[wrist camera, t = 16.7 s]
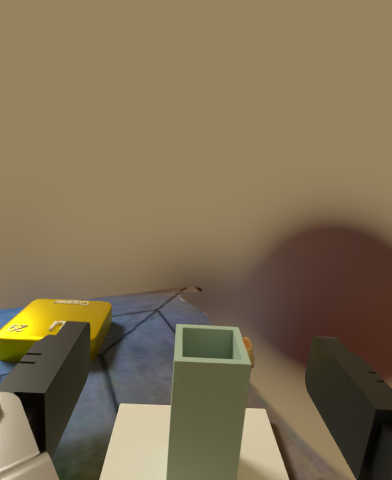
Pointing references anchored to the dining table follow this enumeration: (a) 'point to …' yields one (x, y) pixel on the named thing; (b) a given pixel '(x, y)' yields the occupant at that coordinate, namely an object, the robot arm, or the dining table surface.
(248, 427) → the base plate
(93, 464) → the dining table surface
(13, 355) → the element tile
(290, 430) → the dining table surface
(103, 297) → the dining table surface
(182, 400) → the hollow square tube
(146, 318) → the dining table surface
